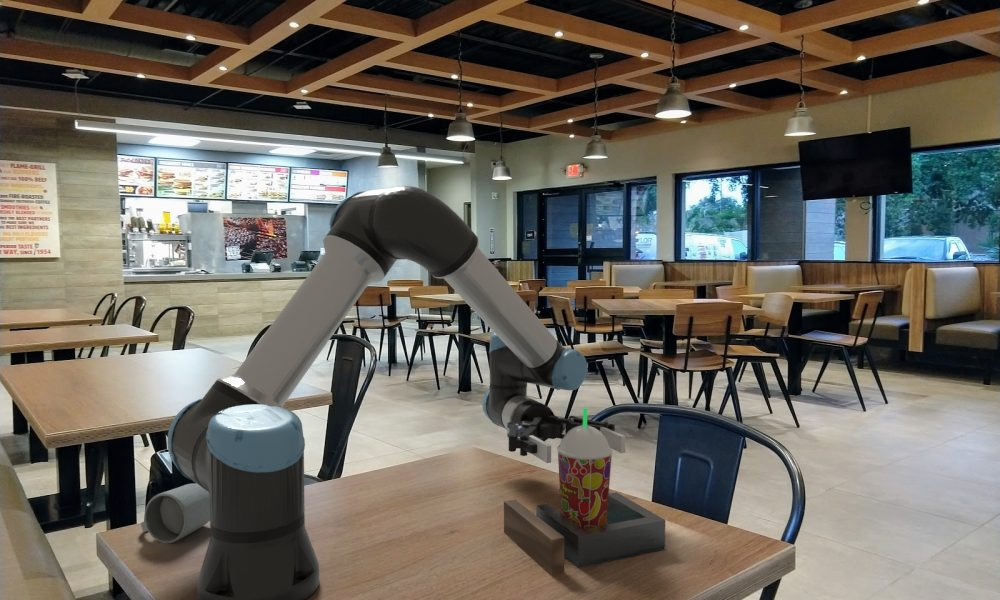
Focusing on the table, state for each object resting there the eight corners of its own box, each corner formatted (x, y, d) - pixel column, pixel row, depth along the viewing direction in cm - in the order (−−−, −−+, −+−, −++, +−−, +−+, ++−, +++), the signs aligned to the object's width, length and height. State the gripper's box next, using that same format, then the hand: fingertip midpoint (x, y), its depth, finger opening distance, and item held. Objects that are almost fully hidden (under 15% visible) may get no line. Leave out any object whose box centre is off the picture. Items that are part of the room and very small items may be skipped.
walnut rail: (551, 575, 93) (551, 539, 93) (503, 532, 107) (503, 501, 107) (564, 572, 94) (564, 537, 93) (515, 529, 108) (515, 499, 108)
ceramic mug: (220, 525, 110) (218, 479, 110) (186, 546, 102) (183, 496, 102) (165, 520, 113) (162, 475, 112) (127, 540, 105) (124, 491, 104)
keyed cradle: (578, 567, 95) (578, 536, 95) (530, 528, 109) (530, 501, 109) (664, 549, 101) (665, 519, 101) (609, 514, 115) (609, 488, 115)
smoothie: (549, 527, 107) (550, 403, 106) (597, 522, 110) (599, 401, 108) (567, 550, 99) (569, 416, 98) (619, 544, 102) (622, 413, 100)
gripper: (586, 432, 132) (651, 463, 112) (466, 446, 122) (515, 482, 103) (586, 394, 131) (652, 418, 112) (466, 405, 122) (515, 434, 102)
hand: (587, 449), depth 107 cm, fingers open, 13 cm apart
